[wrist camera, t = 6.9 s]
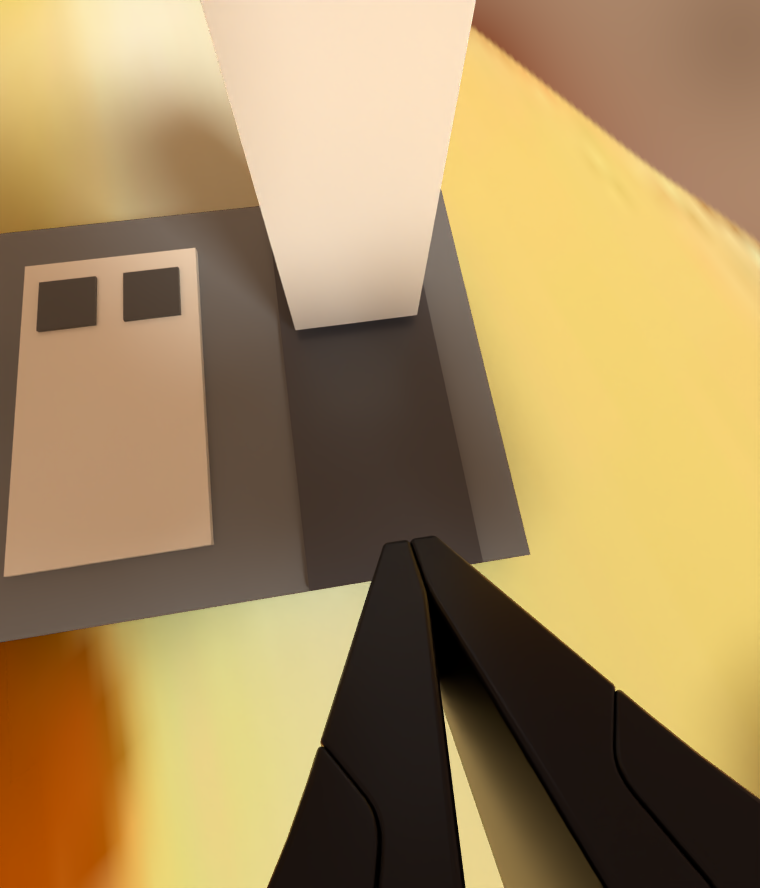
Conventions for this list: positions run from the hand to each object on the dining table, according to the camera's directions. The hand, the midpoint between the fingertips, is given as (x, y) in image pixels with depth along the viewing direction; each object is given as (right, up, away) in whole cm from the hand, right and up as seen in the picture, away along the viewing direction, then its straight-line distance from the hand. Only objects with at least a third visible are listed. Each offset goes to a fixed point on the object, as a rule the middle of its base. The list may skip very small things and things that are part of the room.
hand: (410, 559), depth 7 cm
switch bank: (-8, +3, +7) cm, 11 cm away
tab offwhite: (-1, +7, +6) cm, 9 cm away
